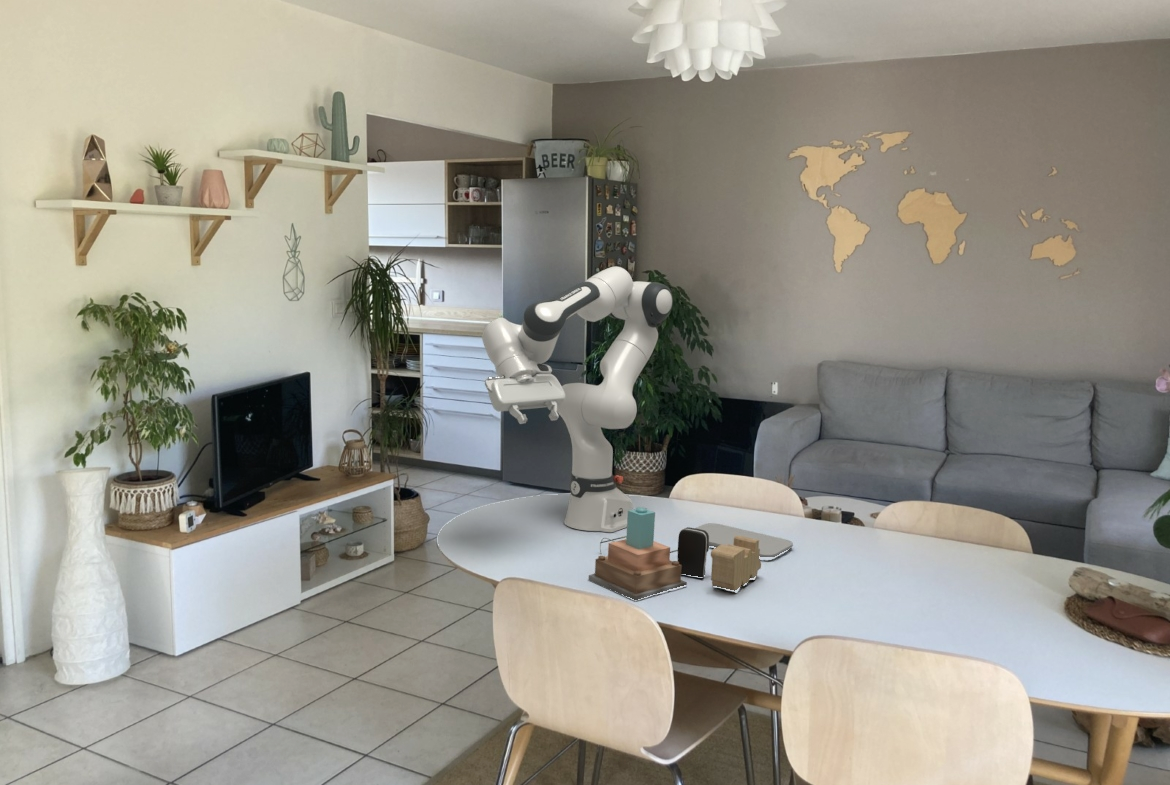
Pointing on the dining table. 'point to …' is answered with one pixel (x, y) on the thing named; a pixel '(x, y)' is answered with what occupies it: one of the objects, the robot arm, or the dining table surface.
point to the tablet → (726, 536)
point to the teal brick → (640, 528)
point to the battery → (693, 551)
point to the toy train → (735, 563)
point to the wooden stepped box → (637, 570)
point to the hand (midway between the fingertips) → (539, 420)
